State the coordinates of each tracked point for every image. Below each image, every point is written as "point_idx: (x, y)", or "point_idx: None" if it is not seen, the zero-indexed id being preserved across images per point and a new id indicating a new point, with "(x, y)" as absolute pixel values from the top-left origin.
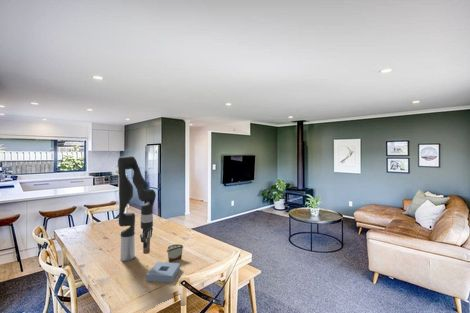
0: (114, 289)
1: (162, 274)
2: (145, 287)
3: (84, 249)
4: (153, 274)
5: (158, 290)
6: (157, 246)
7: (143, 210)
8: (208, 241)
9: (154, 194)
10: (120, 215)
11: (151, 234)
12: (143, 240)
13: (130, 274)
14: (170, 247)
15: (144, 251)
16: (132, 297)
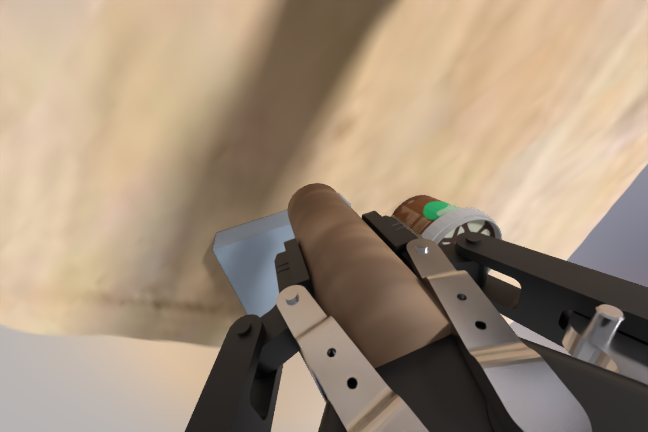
0: (31, 142)
1: (253, 309)
2: (171, 268)
3: None
4: (231, 279)
5: (188, 321)
6: (567, 10)
7: None
8: (575, 230)
9: None
10: None
11: (492, 300)
12: (259, 364)
13: (221, 103)
14: (470, 223)
15: (291, 222)
16: (69, 281)
